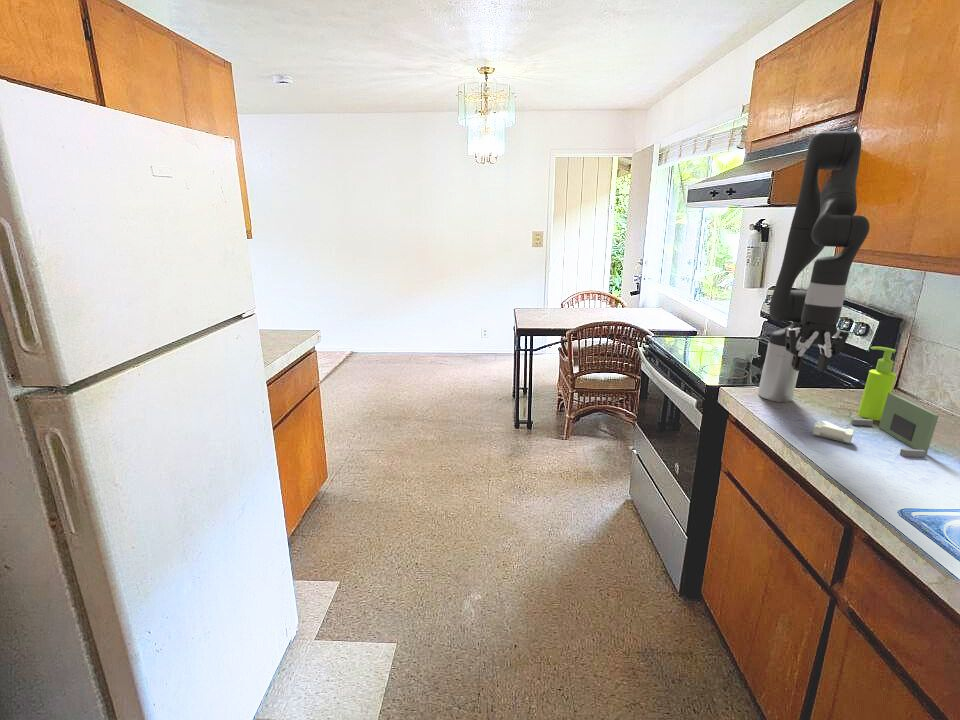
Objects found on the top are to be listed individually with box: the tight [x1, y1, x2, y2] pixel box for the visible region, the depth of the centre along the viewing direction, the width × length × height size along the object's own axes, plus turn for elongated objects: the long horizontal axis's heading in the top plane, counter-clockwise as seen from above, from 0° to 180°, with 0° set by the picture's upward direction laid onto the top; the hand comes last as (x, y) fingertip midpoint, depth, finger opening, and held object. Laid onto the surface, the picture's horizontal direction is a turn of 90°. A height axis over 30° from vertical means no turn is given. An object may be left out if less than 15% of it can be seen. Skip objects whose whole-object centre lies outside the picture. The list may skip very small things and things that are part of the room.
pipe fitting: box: [811, 420, 855, 445], centre depth 126 cm, size 8×4×7 cm
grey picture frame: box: [850, 392, 940, 458], centre depth 124 cm, size 19×7×10 cm, turn 176°
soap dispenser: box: [857, 346, 897, 421], centre depth 138 cm, size 6×7×20 cm
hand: (808, 370), depth 122 cm, fingers open, 5 cm apart
